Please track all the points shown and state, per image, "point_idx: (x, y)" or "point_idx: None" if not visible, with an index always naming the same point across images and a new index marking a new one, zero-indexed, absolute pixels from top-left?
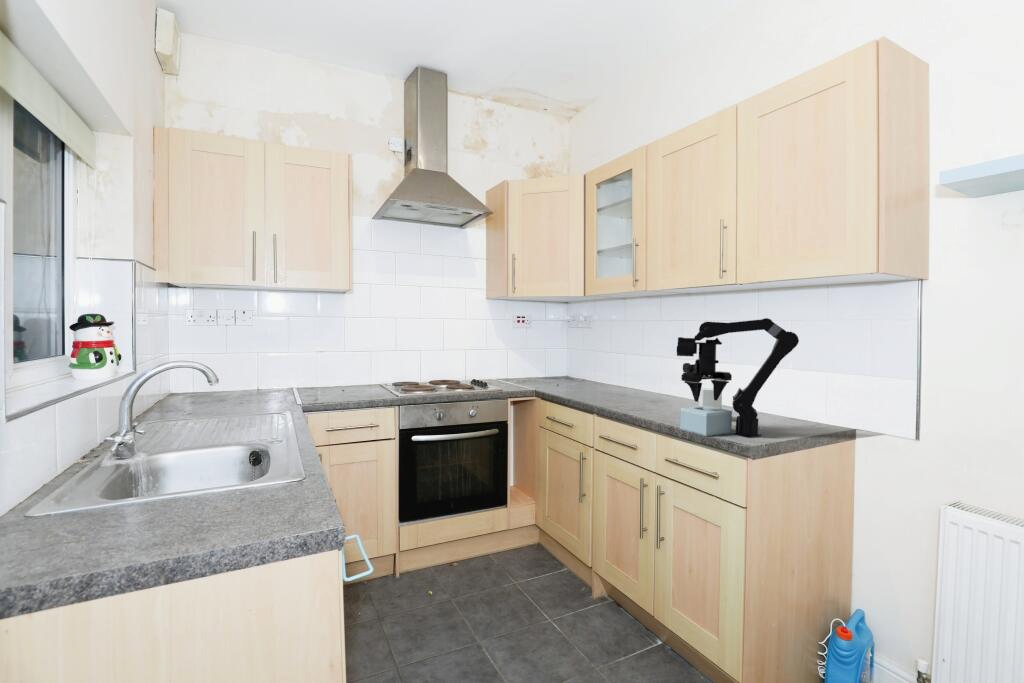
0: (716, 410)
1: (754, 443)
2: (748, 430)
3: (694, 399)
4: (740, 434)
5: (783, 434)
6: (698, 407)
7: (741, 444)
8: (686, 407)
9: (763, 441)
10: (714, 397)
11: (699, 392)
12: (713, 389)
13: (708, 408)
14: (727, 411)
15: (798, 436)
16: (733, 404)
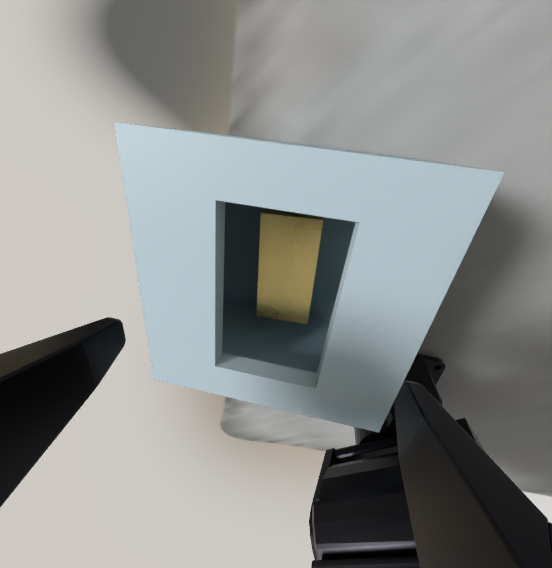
0: (322, 361)
1: (276, 427)
2: None
3: (89, 326)
4: None
5: (535, 446)
6: (303, 210)
7: (228, 411)
8: (182, 141)
9: (329, 434)
10: (411, 410)
11: (17, 465)
12: (501, 539)
13: (340, 293)
14: (334, 421)
15: (532, 479)
16: (313, 514)
